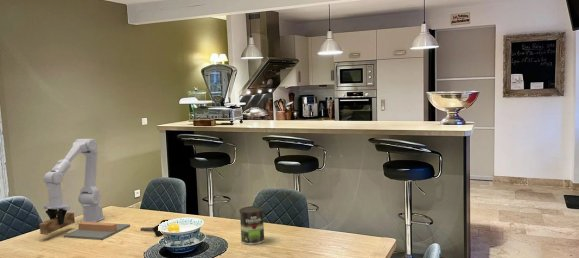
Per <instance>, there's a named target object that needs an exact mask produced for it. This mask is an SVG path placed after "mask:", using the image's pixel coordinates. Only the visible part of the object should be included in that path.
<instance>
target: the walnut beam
mask: <svg viewBox="0 0 579 258" xmlns="http://www.w3.org/2000/svg"><path fill="white" fill-rule="evenodd" d="M75 223H76V222H75V212H66V214H65V218H64V223H63V224H61V225H59V223H58V217H56V218H53V219H50V218H49V219H48V220H45V221H42V222H40V223H39V235H49V234H51V233H54V232H57V231H58V230H61V229H63V228H66V227H68V226H70V225H72V224H75Z"/></svg>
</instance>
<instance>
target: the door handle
mask: <svg viewBox="0 0 579 258" xmlns="http://www.w3.org/2000/svg"><path fill="white" fill-rule="evenodd" d="M168 220H169V219H162V220H161V221H160V223H159V224H161V223H162V222H165V221H168ZM159 224H157V225H156V226H154V227H152V226H151V227H150V226H149V227H140V232H150V233H151V232H153V233H154V236H156V237H161V236H163V234H162V233H161V232H160V231H158V226H159Z"/></svg>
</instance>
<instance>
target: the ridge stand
mask: <svg viewBox="0 0 579 258" xmlns="http://www.w3.org/2000/svg"><path fill="white" fill-rule="evenodd" d="M80 222H81V223H80ZM80 222H79V223H78V224H77V226H78V229H74V230H72V231H71V232H68V233H65V234H64V235H63V238H68V239H69V238H70V239H86V240H99V241H103V240H105V239H107V238H109V237H111V236H114V235H115V234H117V233H119V232H122V231H123V230H124V231H125V230H126V229H127V228H129V227H131V224H127V223H114V222H113V223H111V222H82V221H80Z"/></svg>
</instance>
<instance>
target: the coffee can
mask: <svg viewBox="0 0 579 258" xmlns="http://www.w3.org/2000/svg"><path fill="white" fill-rule="evenodd" d="M239 219H240V220H239V222H240V237H241V239H240V243H241V244H242V245H243V244H244V245H247V246H249V245H250V246H251V245H259V244H262V243H264V242H265V229H264V228H265V227H264V226H265V224H264V223H265V222H264V208H263V207H261V206H258V205H256V206H253V205H252V206H244V207H241V208H240V209H239Z"/></svg>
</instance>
